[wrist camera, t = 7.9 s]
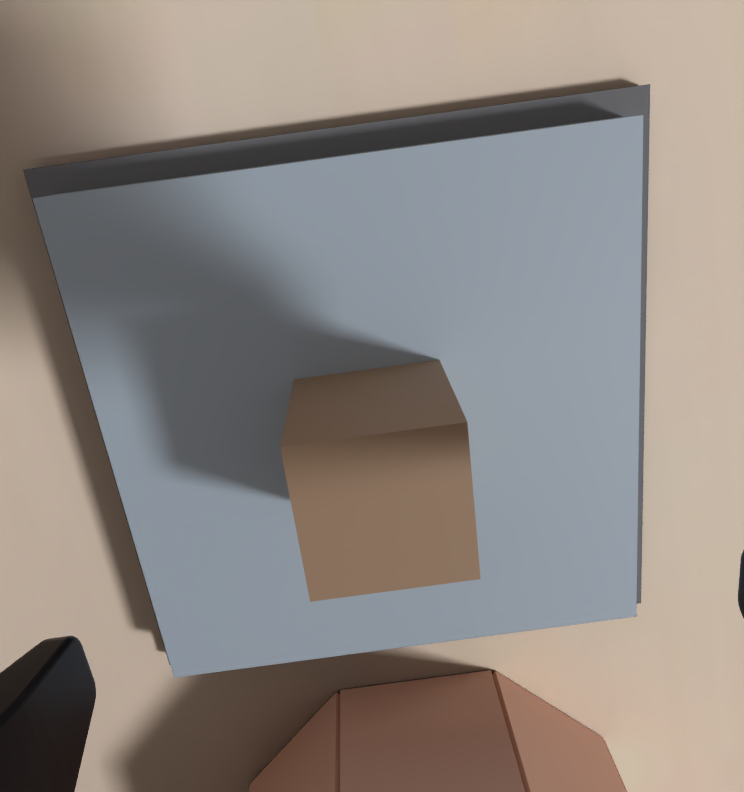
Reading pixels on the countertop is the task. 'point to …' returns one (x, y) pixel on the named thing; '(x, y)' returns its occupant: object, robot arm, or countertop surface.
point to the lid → (370, 390)
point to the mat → (366, 140)
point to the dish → (442, 742)
